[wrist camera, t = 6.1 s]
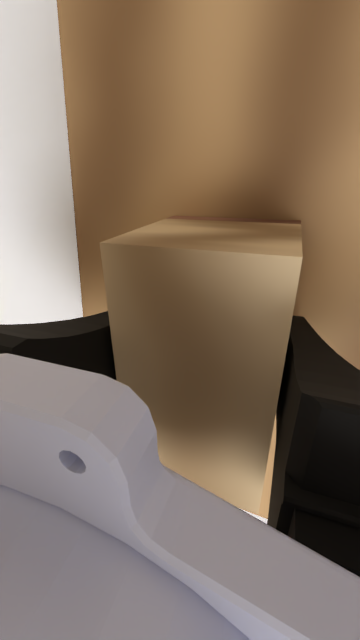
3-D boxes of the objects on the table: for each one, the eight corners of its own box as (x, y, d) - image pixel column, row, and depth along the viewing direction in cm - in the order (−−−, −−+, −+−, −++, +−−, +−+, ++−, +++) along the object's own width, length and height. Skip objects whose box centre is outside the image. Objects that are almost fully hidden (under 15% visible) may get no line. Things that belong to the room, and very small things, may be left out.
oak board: (606, -41, 7) (661, -79, 6) (321, 518, 17) (322, 540, 16) (78, -4, 10) (54, -23, 9) (104, 438, 21) (94, 453, 20)
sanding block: (300, 220, 10) (302, 257, 6) (270, 406, 14) (258, 514, 9) (173, 215, 11) (99, 242, 7) (176, 386, 15) (128, 471, 11)
